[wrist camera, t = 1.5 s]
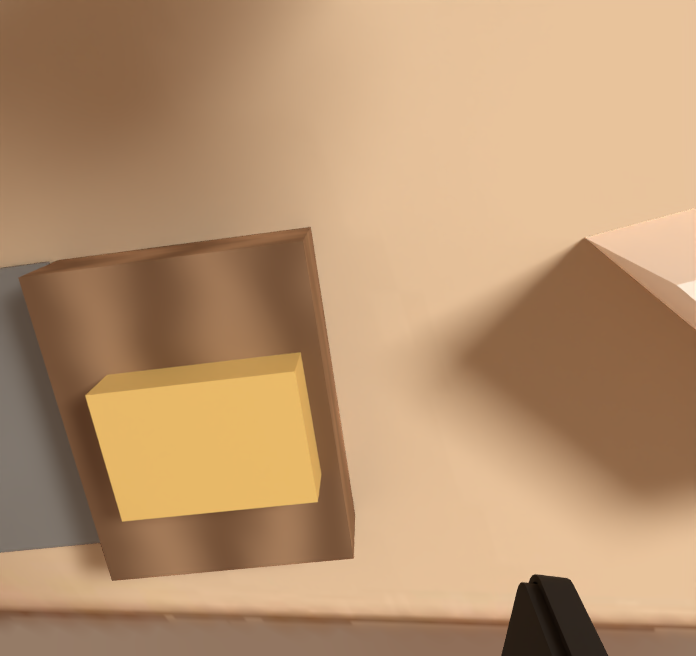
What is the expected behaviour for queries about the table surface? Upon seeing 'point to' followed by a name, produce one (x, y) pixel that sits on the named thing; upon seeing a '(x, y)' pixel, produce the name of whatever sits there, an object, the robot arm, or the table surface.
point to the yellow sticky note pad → (207, 437)
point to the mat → (34, 439)
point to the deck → (190, 349)
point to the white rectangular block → (658, 258)
